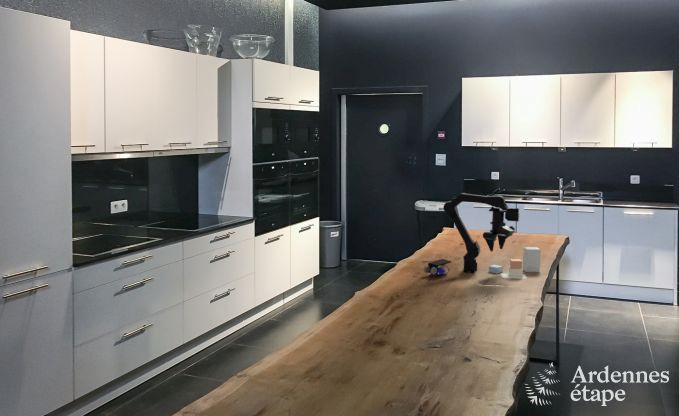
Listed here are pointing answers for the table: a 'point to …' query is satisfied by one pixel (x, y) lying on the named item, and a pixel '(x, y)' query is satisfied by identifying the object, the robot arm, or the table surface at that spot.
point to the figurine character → (434, 268)
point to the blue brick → (495, 269)
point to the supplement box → (531, 259)
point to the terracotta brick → (515, 263)
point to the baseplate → (512, 277)
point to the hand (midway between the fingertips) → (496, 250)
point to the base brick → (515, 272)
